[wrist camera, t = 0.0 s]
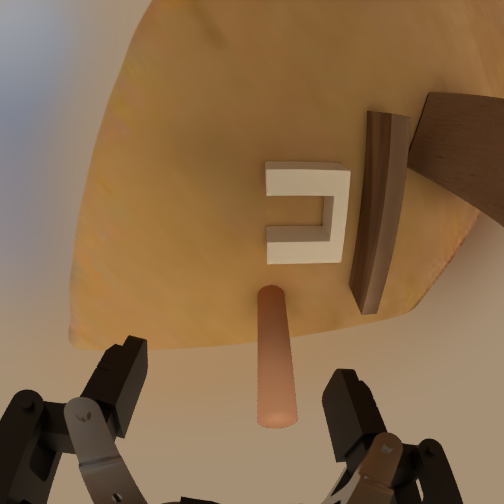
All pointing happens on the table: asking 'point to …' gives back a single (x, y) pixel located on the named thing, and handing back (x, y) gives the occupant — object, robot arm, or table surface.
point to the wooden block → (463, 148)
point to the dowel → (274, 362)
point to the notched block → (334, 213)
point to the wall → (379, 206)
